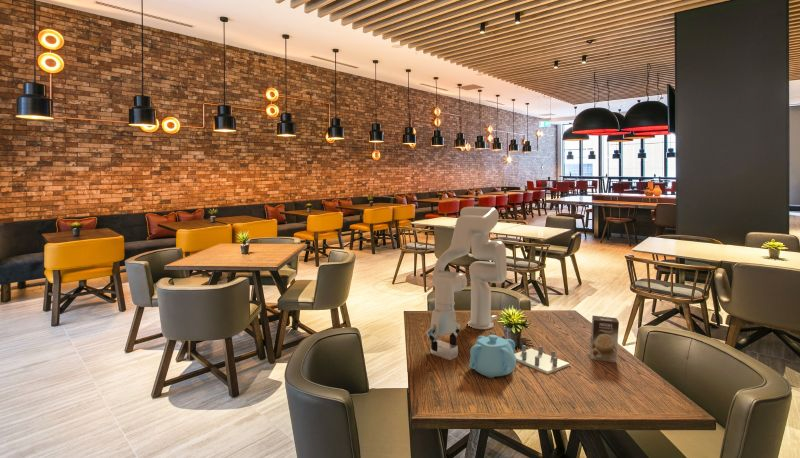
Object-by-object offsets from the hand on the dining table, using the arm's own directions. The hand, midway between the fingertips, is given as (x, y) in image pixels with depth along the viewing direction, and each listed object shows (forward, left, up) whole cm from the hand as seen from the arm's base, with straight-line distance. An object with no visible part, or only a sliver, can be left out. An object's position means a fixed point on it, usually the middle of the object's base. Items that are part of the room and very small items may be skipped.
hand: (443, 347), depth 175 cm
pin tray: (-26, +26, -3) cm, 37 cm away
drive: (0, 0, -3) cm, 3 cm away
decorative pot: (-5, +22, -3) cm, 23 cm away
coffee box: (-50, +38, -3) cm, 63 cm away
